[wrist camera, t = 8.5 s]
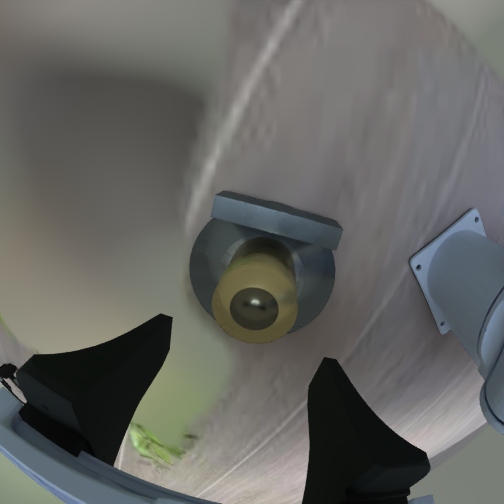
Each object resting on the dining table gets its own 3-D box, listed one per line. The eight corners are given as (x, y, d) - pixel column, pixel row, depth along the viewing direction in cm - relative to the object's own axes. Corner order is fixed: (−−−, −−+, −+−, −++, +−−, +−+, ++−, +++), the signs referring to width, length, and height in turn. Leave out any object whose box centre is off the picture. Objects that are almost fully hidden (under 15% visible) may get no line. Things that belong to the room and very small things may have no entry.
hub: (307, 272, 20) (314, 316, 14) (259, 306, 21) (249, 356, 16) (267, 223, 19) (259, 252, 13) (219, 262, 20) (194, 301, 15)
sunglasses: (13, 358, 33) (0, 375, 29) (52, 401, 38) (43, 419, 33) (-1, 360, 36) (-13, 374, 31) (33, 398, 40) (24, 413, 36)
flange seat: (206, 184, 20) (192, 189, 17) (352, 224, 19) (364, 236, 16) (184, 311, 23) (171, 332, 20) (306, 344, 23) (308, 368, 20)
